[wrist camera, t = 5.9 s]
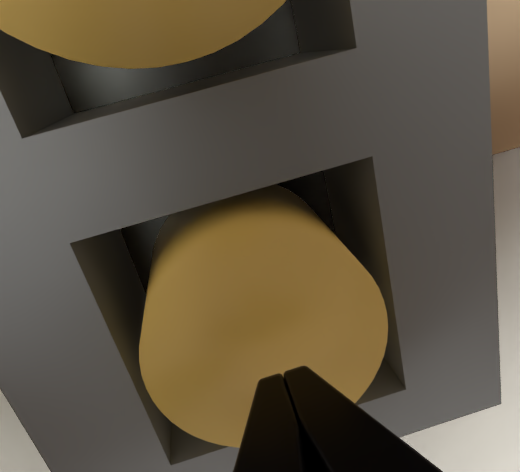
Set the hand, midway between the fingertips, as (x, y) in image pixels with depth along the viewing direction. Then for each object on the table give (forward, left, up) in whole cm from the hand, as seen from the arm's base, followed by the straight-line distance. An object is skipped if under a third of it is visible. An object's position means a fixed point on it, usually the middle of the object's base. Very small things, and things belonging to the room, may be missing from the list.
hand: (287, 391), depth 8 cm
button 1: (0, 0, -5) cm, 5 cm away
